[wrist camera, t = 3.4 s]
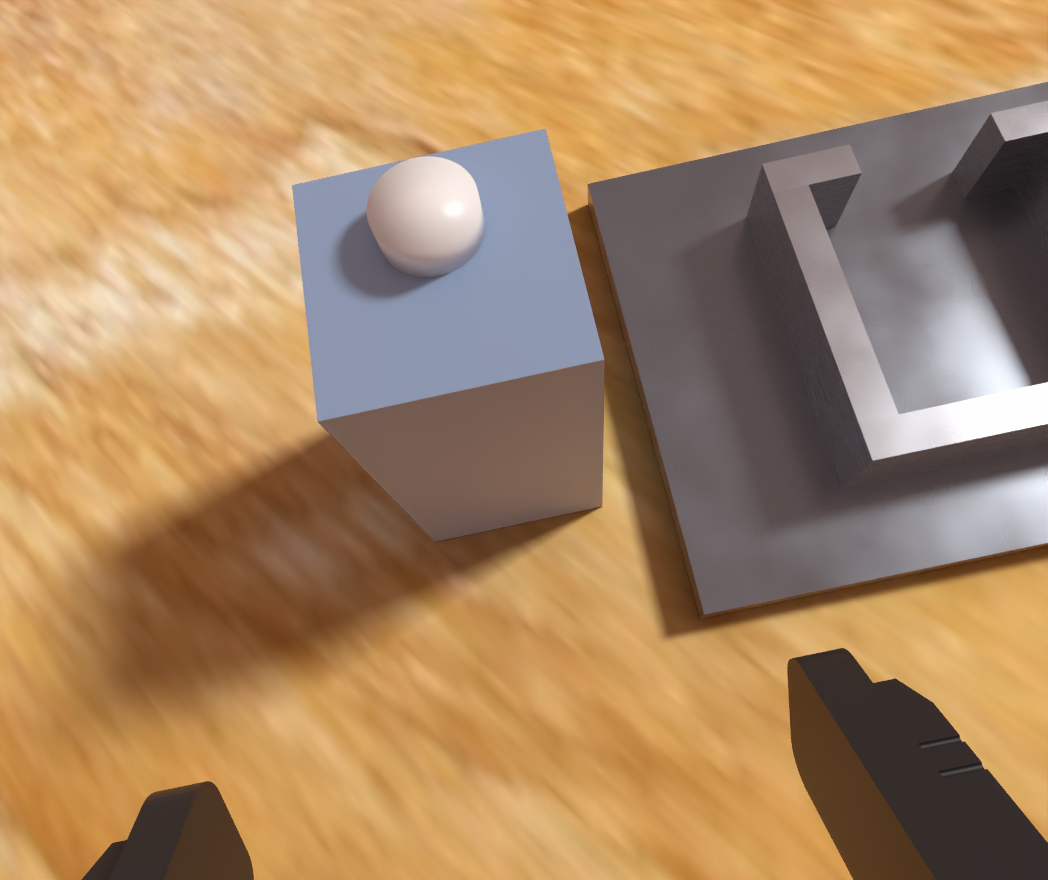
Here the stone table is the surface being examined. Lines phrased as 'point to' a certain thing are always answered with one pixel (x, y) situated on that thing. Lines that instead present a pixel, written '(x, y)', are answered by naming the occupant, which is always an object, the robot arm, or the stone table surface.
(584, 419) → the block
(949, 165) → the plate
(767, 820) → the stone table surface
